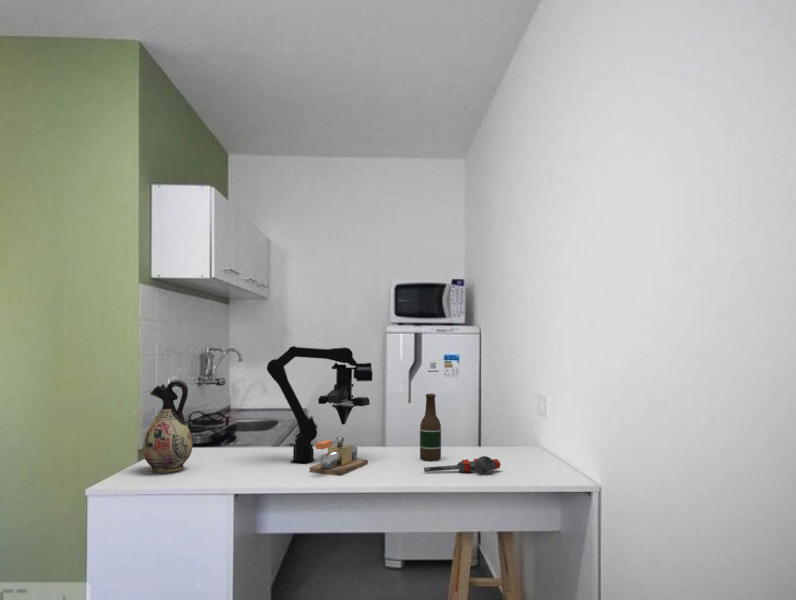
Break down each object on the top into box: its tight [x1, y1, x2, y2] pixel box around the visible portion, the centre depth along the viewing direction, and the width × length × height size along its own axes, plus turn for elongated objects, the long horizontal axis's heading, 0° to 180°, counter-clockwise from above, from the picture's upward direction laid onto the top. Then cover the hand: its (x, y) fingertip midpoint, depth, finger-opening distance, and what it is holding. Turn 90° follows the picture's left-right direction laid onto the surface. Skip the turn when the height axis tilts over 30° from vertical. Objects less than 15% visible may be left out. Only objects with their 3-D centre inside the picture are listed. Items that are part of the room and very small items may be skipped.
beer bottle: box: [419, 393, 442, 462], centre depth 207 cm, size 8×8×24 cm
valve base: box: [309, 442, 369, 476], centre depth 191 cm, size 12×19×9 cm, turn 156°
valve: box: [423, 455, 501, 476], centre depth 189 cm, size 6×26×15 cm
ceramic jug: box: [142, 379, 193, 474], centre depth 187 cm, size 17×15×30 cm
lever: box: [315, 436, 345, 450], centre depth 186 cm, size 15×3×2 cm, turn 158°
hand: (343, 424), depth 204 cm, fingers closed
